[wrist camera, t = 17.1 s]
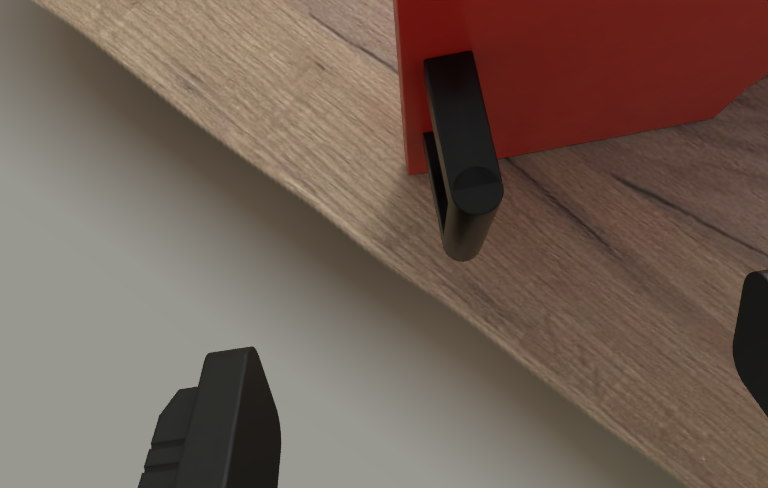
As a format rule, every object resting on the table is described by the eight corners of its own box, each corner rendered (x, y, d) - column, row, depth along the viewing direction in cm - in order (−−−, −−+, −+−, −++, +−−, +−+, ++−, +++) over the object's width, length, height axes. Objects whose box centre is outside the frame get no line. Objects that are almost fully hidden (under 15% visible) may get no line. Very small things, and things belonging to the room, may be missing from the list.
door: (745, 223, 31) (1055, 70, 16) (429, 281, 32) (435, 187, 16) (707, 99, 33) (961, -151, 17) (404, 156, 33) (389, -40, 18)
